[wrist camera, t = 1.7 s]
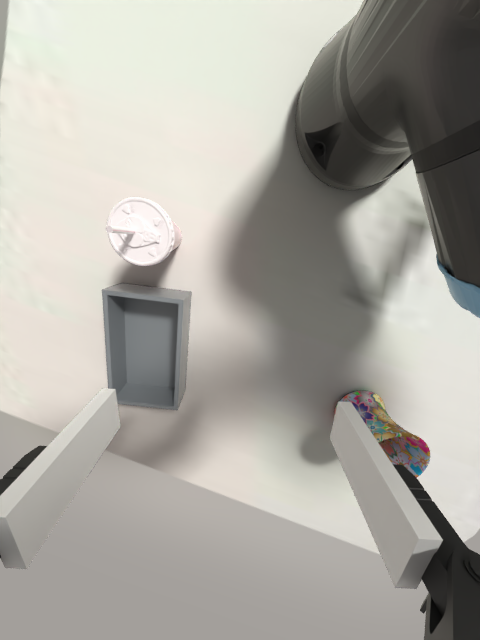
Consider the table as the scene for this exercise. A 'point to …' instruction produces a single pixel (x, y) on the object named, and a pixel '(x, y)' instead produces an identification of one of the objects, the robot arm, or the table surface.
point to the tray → (146, 344)
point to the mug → (390, 433)
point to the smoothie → (142, 231)
